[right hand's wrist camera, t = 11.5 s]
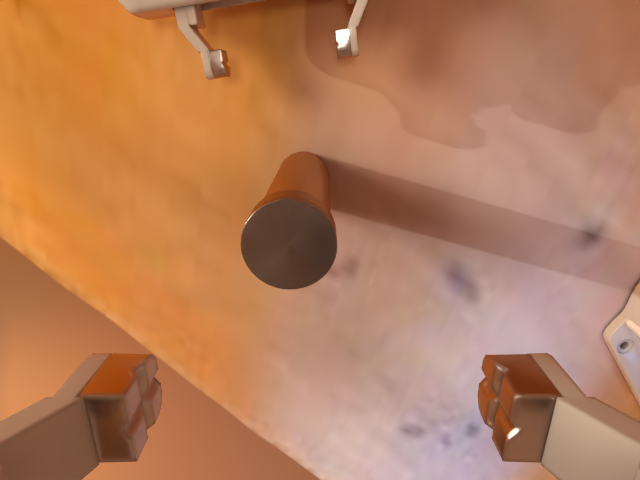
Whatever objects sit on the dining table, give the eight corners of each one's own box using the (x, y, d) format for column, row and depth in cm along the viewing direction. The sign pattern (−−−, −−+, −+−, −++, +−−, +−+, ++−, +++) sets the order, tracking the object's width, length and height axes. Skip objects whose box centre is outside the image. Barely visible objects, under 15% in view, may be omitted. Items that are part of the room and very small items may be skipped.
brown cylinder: (275, 197, 39) (243, 276, 23) (281, 148, 38) (250, 195, 22) (324, 204, 40) (325, 287, 24) (332, 155, 38) (338, 208, 22)
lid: (243, 267, 25) (236, 283, 23) (251, 183, 23) (244, 192, 21) (328, 278, 25) (329, 295, 23) (342, 196, 24) (344, 206, 22)
